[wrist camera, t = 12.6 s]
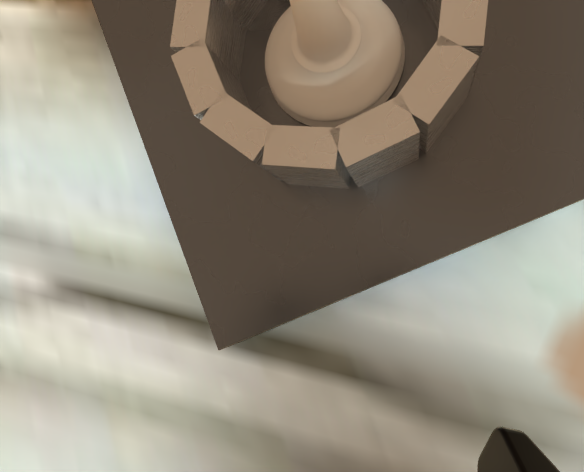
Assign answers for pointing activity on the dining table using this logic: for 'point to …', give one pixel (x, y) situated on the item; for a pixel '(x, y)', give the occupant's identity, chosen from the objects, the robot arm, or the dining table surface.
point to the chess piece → (334, 59)
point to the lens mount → (348, 146)
